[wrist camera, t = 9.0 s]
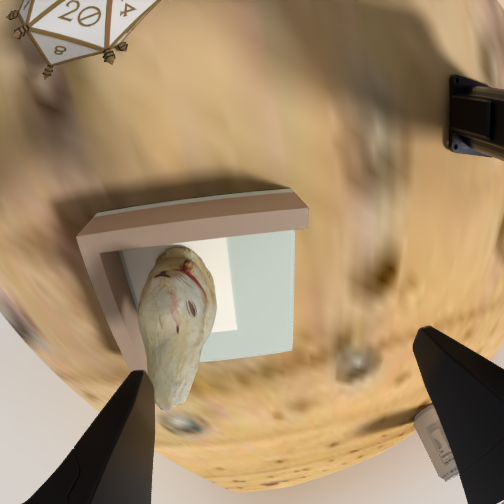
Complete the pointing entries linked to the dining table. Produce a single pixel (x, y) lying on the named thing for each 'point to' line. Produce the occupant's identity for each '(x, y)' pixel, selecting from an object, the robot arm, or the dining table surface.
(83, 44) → the game die
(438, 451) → the energy drink can
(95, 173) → the dining table surface
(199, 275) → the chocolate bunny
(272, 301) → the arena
